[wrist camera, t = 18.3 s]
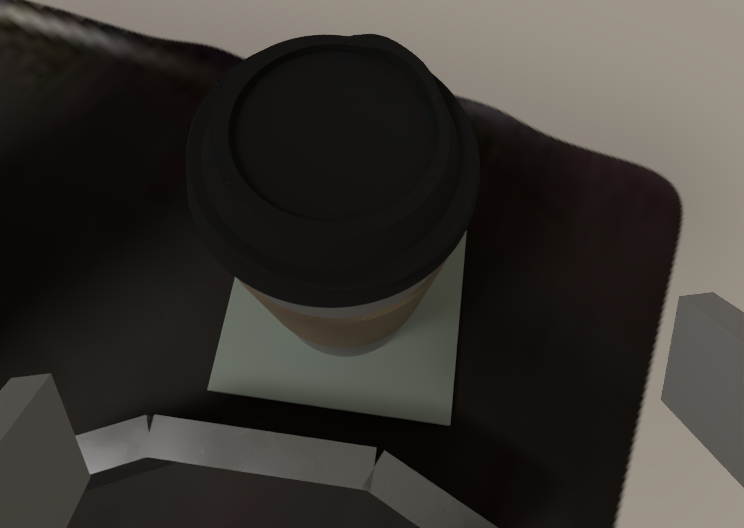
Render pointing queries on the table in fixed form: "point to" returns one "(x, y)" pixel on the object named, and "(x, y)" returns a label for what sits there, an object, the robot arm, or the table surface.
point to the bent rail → (269, 463)
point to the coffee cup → (333, 184)
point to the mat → (348, 358)
